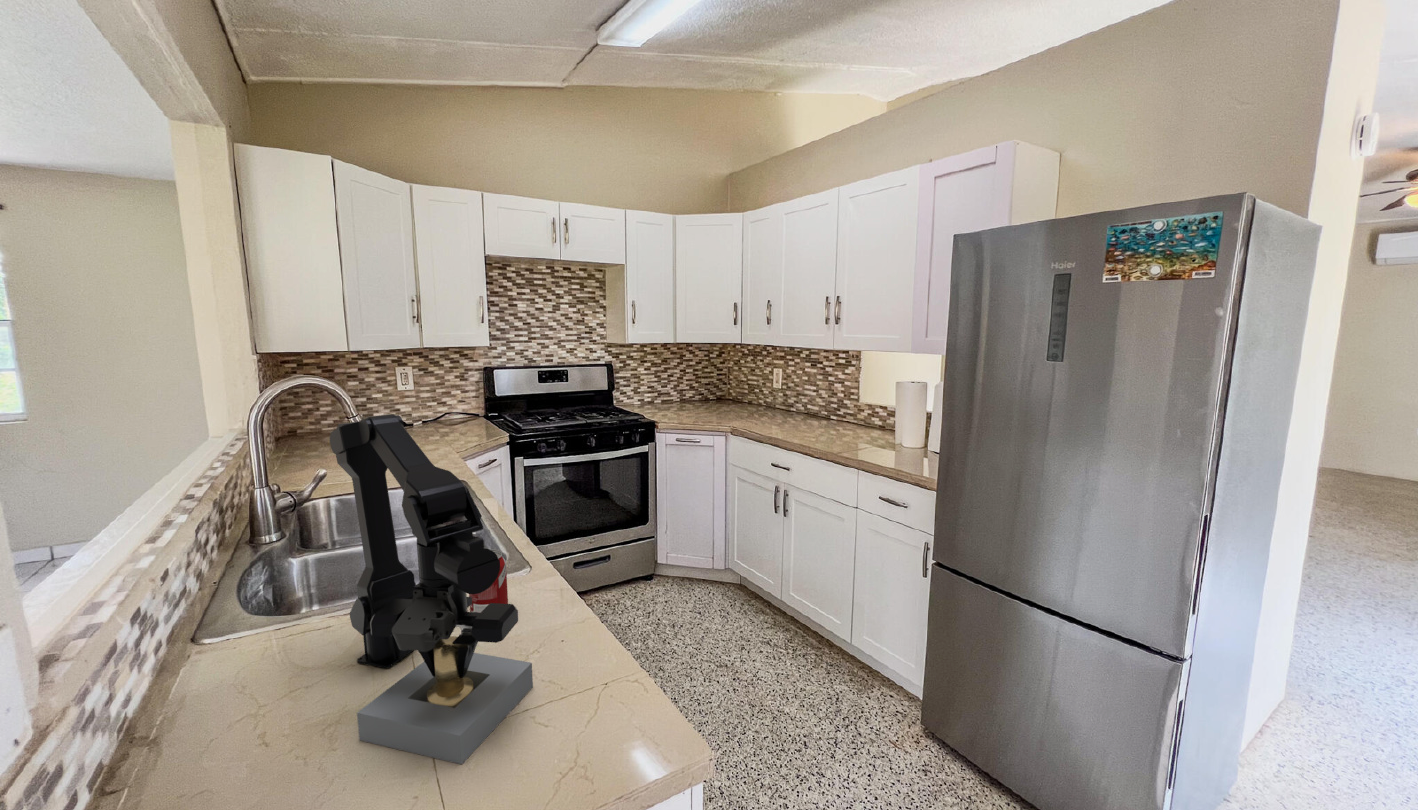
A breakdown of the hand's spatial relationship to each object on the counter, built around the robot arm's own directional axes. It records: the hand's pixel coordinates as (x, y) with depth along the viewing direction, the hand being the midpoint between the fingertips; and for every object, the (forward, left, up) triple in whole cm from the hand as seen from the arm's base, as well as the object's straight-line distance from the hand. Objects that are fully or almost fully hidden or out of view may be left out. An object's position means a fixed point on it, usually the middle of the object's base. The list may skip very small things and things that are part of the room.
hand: (449, 675), depth 81 cm
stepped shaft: (0, 0, -5) cm, 5 cm away
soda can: (-12, +25, -6) cm, 28 cm away
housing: (0, 0, -6) cm, 6 cm away
